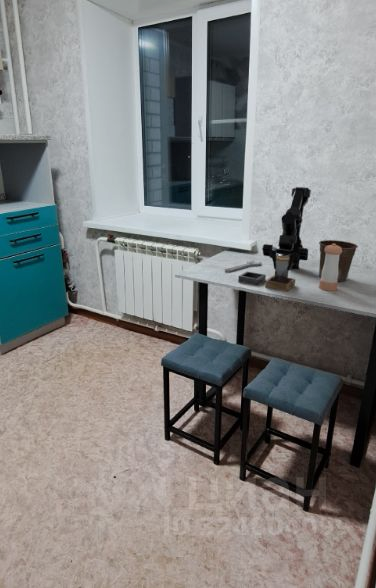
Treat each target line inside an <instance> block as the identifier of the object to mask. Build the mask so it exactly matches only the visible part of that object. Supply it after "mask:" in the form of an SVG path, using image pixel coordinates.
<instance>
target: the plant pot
mask: <svg viewBox="0 0 376 588" xmlns="http://www.w3.org/2000/svg"><path fill="white" fill-rule="evenodd" d="M332 244H336V245H337V246H339V247H341V248H342V253H341V254H340V256H339V263H338V279H337V281H338V283H339V282H340V283H343V282H346V281H347V280H348V277H349V272H350V269H351V267H352V262H353V258H354V257H355V255H356V252H357V249H358V247H359V246H358V245H357V244H356V243H352V242H349V241H343V240H335V239H334V240H333V239H332V240H331V239H330V240H329V239H327V240H324V239H323V240H320V241H319V252H320V253H319V254H320V255H319V273H318V277H319V278H321V275H322V269H323V266H324V263H325V256H326V253H325V251H324V249H325V247H326V246H328V245H332Z"/></svg>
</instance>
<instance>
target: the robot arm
mask: <svg viewBox="0 0 376 588" xmlns="http://www.w3.org/2000/svg"><path fill="white" fill-rule="evenodd" d="M311 193H312V190H311V189H310V188H309V187H302V186H301V187H298V186H295V187H293V188H291V197H292V199H291V204H290V207H289V208H288V209H287V210H286V212H285V214H283V215H282V217H281V229H282V234H280V235H279V239H278V248H277V247H274V245H273V244H267V243H264V244H263V245H262V255H263V256H264V257H269V258H270V259H272V263H273V269H274V270H275V266H276V255H277V254H278V253H286V254H289V255H290V261H289V267H288V272H289V271H290V270H300V269H301V267H300V261H308V258H309V249H308V248H307V247H304V245H303V241H302V239H301V237H300V234H301V228H302V223H303V216H304V215H303V214H304V208H305V206H306V205H307V204H308V202H309V199H310V198H311V195H312V194H311Z"/></svg>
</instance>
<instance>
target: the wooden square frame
mask: <svg viewBox="0 0 376 588" xmlns="http://www.w3.org/2000/svg"><path fill="white" fill-rule="evenodd" d="M274 276H275V274H273V275H272V276H270V277H269V278H268V279H265V286H264V287H265V288H268V289H272V290H278V291H281V292H282V291H283V292H288V291H290V290H291V289H292V288H294V287H295V285H296V279H295V278H292V277H288V280H287V284H285V283H280V282H274Z"/></svg>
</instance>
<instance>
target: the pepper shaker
mask: <svg viewBox="0 0 376 588" xmlns="http://www.w3.org/2000/svg"><path fill="white" fill-rule="evenodd" d="M324 251H325V253H326V256H325V263H324V266H323V269H322V275H321V277H320V279H319V284H318V288H319V289H320V290H323V291H329V292H333V291H337V290H338V286H339V285H338V283H339V281H337V279H338V263H339V256H340V254H341V253H342V248H341V247H339V246H337V245H336V244H332V245H328V246H326V247H325V249H324Z"/></svg>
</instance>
